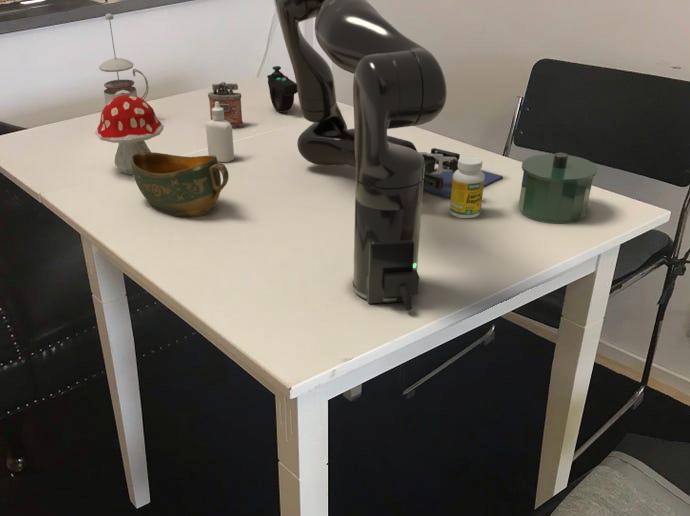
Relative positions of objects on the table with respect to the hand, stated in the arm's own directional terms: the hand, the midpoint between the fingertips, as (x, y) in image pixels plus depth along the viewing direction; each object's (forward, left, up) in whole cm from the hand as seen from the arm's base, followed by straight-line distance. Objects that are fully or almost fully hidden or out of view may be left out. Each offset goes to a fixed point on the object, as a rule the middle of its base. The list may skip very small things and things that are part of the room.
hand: (457, 177), depth 133 cm
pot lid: (-3, -17, +1) cm, 17 cm away
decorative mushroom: (+30, +60, -6) cm, 67 cm away
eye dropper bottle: (+33, +42, -6) cm, 54 cm away
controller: (+65, +27, -6) cm, 71 cm away
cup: (+8, +49, -6) cm, 50 cm away
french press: (+62, +65, -6) cm, 90 cm away
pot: (-3, -17, -6) cm, 18 cm away
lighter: (+56, +41, -6) cm, 70 cm away
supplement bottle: (-2, -1, -6) cm, 7 cm away
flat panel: (+13, -3, -6) cm, 15 cm away
